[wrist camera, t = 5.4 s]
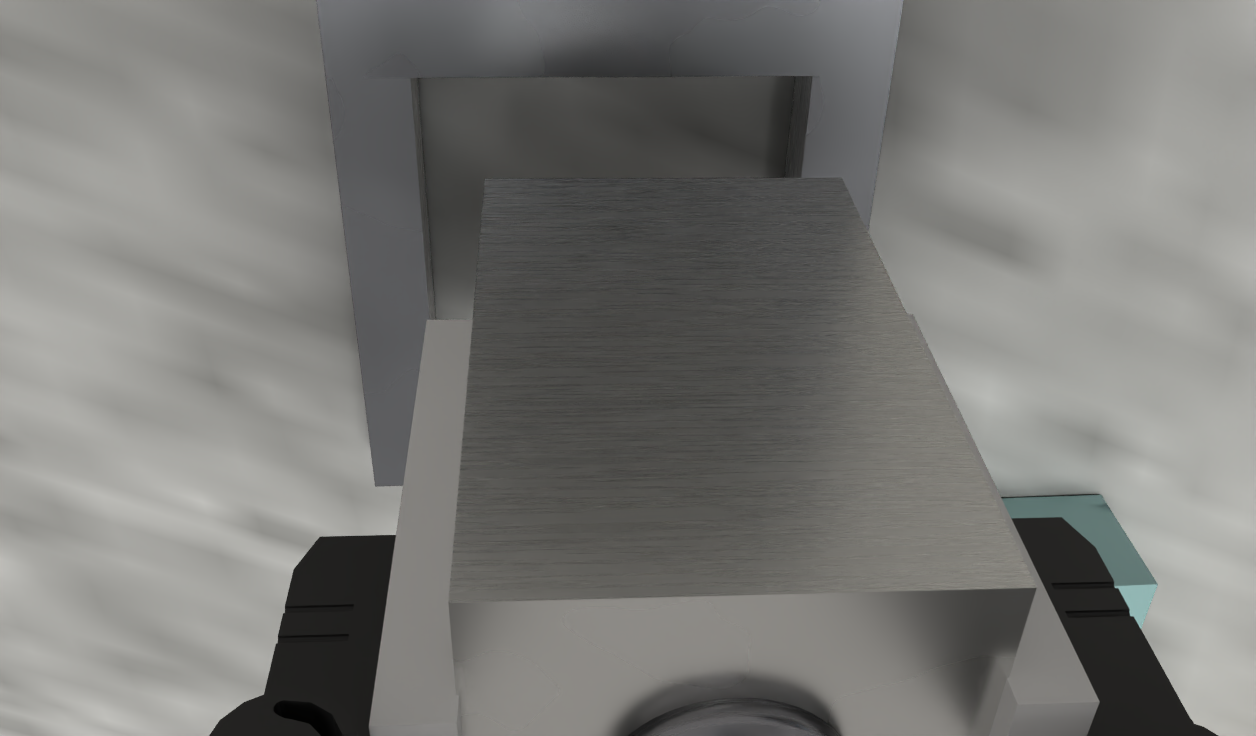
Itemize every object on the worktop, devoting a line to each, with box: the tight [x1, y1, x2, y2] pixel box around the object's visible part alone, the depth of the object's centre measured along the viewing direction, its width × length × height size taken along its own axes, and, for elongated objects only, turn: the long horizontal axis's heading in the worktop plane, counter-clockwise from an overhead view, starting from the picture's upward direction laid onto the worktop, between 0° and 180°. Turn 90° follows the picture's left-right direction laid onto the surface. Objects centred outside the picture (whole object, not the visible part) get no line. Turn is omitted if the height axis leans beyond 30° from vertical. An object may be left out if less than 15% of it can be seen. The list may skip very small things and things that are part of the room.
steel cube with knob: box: [448, 178, 1037, 736], centre depth 15 cm, size 5×5×8 cm
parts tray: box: [1002, 495, 1158, 629], centre depth 28 cm, size 10×10×3 cm
